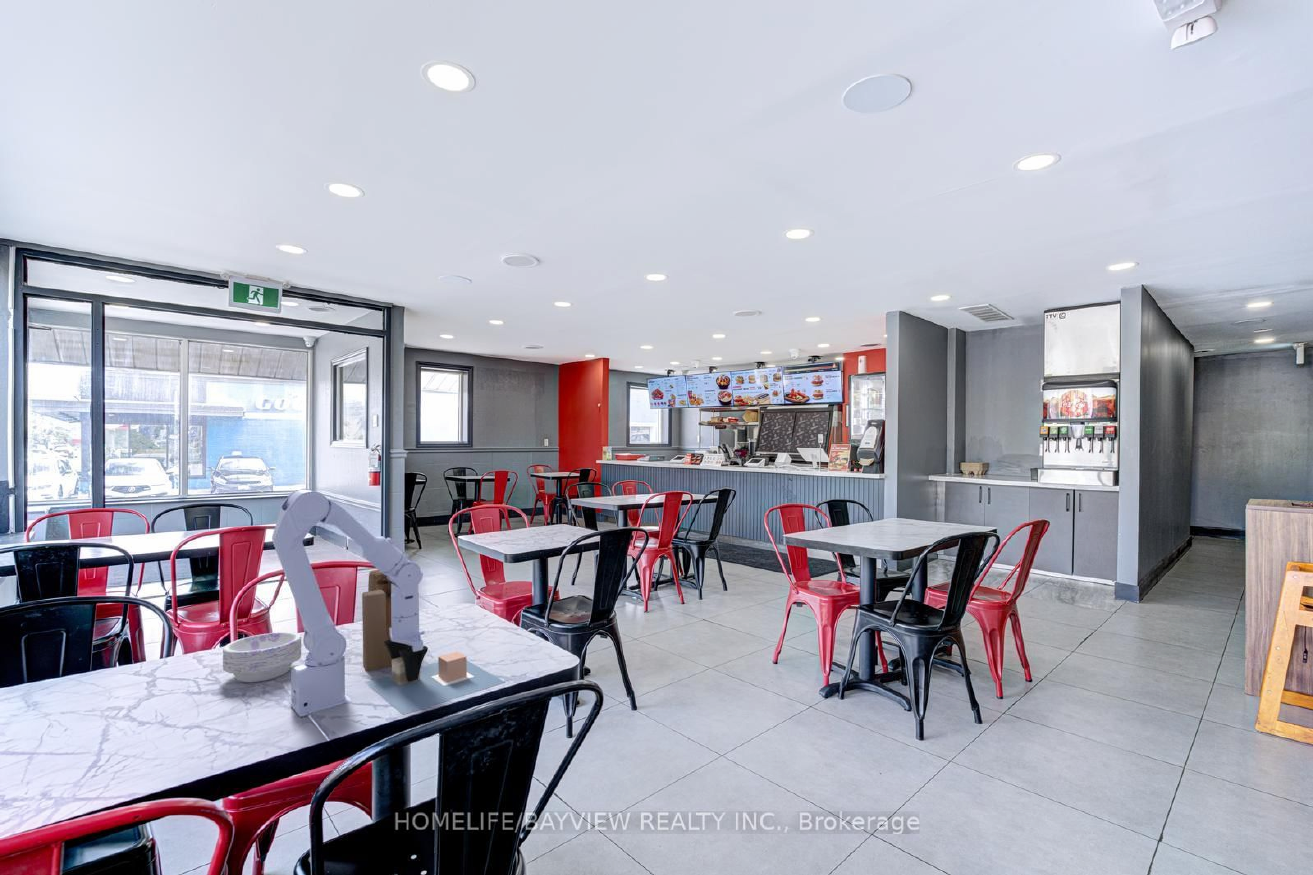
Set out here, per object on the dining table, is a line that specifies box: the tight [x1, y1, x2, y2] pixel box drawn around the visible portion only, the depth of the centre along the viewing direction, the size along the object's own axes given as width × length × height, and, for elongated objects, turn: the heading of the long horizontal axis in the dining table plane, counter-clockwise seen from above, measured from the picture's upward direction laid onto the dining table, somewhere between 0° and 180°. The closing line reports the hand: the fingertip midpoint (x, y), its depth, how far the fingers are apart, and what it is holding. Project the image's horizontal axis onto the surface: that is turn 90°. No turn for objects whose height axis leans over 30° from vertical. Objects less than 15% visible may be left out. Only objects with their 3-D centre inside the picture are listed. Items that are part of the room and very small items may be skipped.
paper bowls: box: [222, 631, 302, 683], centre depth 140 cm, size 15×15×8 cm
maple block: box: [391, 657, 420, 685], centre depth 135 cm, size 4×4×4 cm
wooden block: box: [361, 590, 392, 672], centre depth 144 cm, size 9×4×18 cm, turn 124°
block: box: [367, 569, 394, 640], centre depth 157 cm, size 11×8×20 cm
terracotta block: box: [437, 651, 468, 682], centre depth 136 cm, size 4×4×4 cm
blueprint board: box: [365, 659, 506, 716], centre depth 133 cm, size 22×22×1 cm
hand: (406, 675), depth 135 cm, fingers open, 7 cm apart
